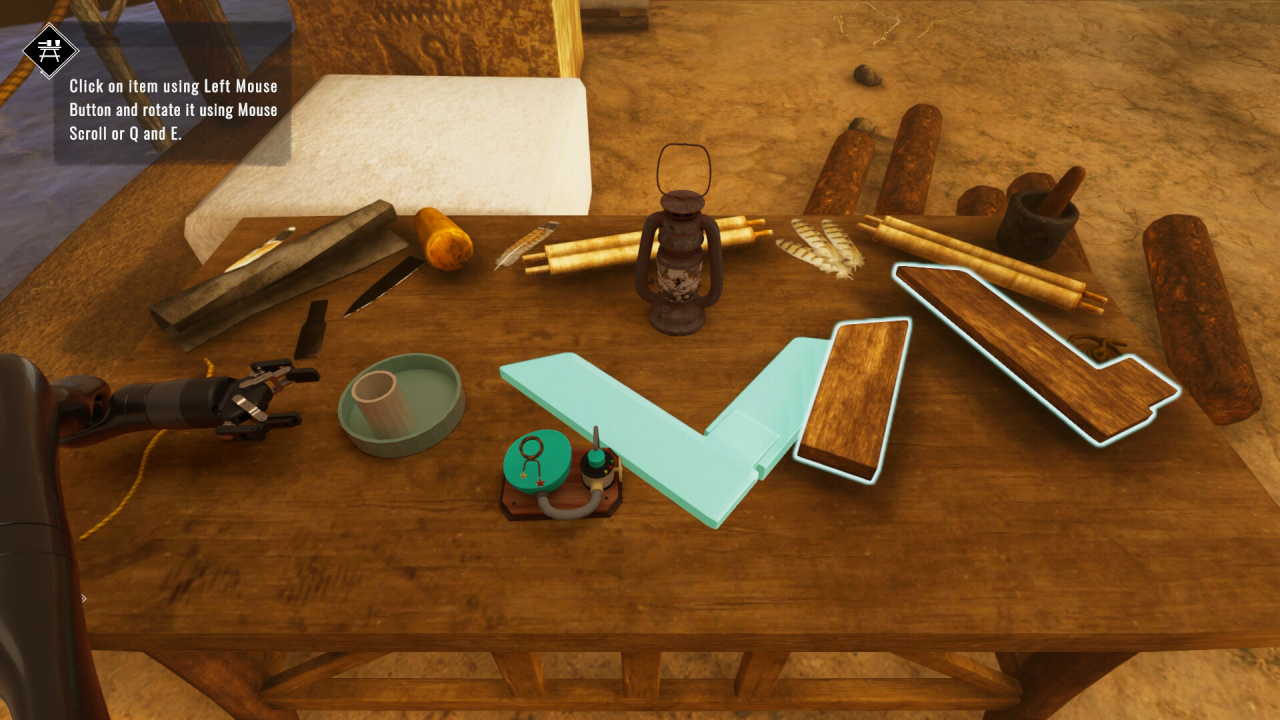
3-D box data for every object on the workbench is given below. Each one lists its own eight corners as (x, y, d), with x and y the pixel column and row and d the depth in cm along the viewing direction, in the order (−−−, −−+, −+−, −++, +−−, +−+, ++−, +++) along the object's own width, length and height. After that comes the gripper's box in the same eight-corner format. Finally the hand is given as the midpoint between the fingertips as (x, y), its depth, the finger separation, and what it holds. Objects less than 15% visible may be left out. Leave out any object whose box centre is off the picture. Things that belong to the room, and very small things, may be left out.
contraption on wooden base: (624, 532, 80) (620, 472, 69) (495, 537, 80) (471, 478, 69) (622, 449, 90) (619, 385, 79) (507, 454, 89) (488, 390, 79)
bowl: (458, 452, 90) (451, 437, 87) (332, 462, 89) (322, 447, 86) (472, 365, 103) (467, 349, 100) (363, 372, 102) (355, 356, 99)
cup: (411, 441, 90) (391, 400, 83) (370, 444, 90) (346, 403, 83) (418, 410, 95) (400, 369, 88) (379, 413, 95) (357, 372, 87)
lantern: (640, 295, 116) (637, 124, 91) (720, 302, 115) (740, 130, 89) (631, 331, 109) (626, 156, 84) (717, 339, 107) (738, 163, 82)
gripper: (155, 426, 76) (280, 417, 77) (203, 351, 86) (313, 344, 87) (188, 458, 82) (304, 449, 83) (229, 384, 92) (333, 377, 93)
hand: (309, 395), depth 85 cm, fingers open, 8 cm apart
